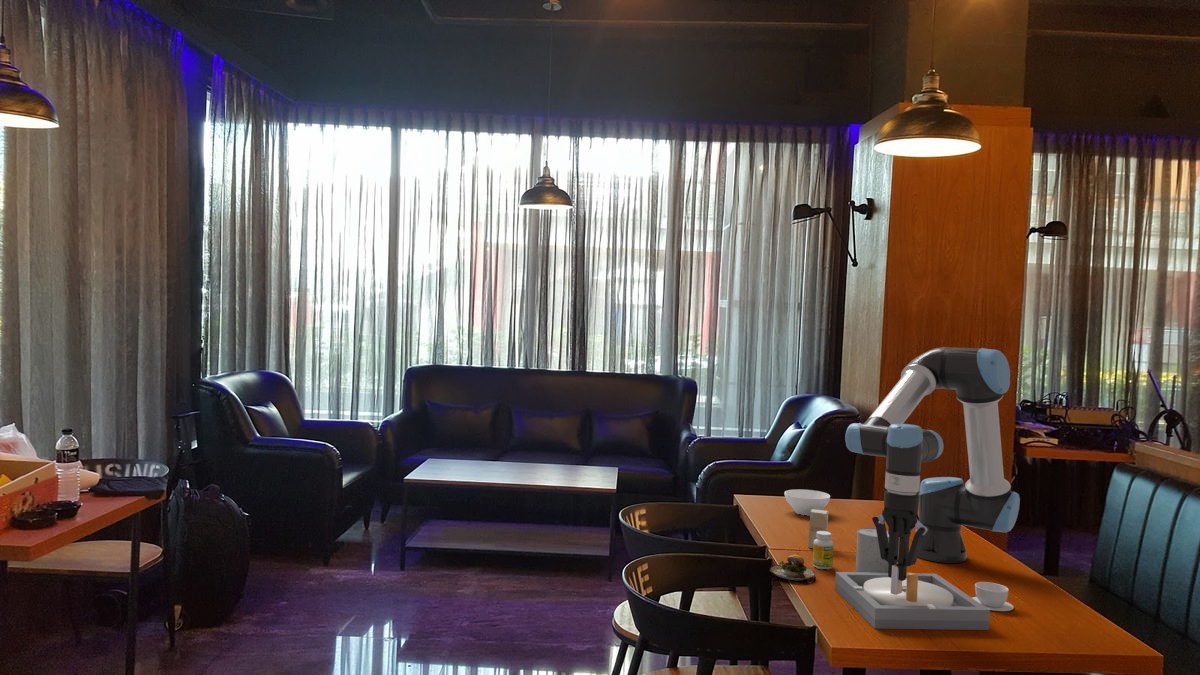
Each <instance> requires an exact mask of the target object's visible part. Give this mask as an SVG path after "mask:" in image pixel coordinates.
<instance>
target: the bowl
mask: <svg viewBox="0 0 1200 675" xmlns="http://www.w3.org/2000/svg"><path fill="white" fill-rule="evenodd" d="M783 494H784V498H785V500H786V502H787V503H788V505H790V506H791V508H792V509H793V510H794V512H795V513H796V514H797V515H799V514H801V515H800V516H804V515H807V517H810V512H811V510H812V509H816V510H824V508H825V507H826V506H827V505H828V504H829V502H830V499H831V495H830V494H829V493H827V492H824V491H820V490H813V489H800V488H799V489H788V490H785V491H784V493H783Z"/></svg>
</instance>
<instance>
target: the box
mask: <svg viewBox="0 0 1200 675" xmlns="http://www.w3.org/2000/svg"><path fill="white" fill-rule="evenodd" d="M828 526H829V510H824V509H822V510H816V509H812V510H811V512H810V516H809V526H808V527H809V528H808V546H807V547H808V548H810V549H813V545H814V540H815V539H817V537H816V532H818V531H826V532H828V529H829V528H828Z"/></svg>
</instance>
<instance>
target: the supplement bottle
mask: <svg viewBox="0 0 1200 675" xmlns="http://www.w3.org/2000/svg"><path fill="white" fill-rule="evenodd" d="M816 537H817V539H815V540H814V545H813V548H812V549H813V552H812V553H813V554H812V565H813V567H814V568H815V567H816V569H819V570H823V569H827V570H831V569H833V566H834V564H833V563H834V542H833V540H831V539H832V533H831V532H829V531H827V532H826V531H818V532H816Z"/></svg>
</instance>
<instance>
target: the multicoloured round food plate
mask: <svg viewBox="0 0 1200 675" xmlns="http://www.w3.org/2000/svg"><path fill="white" fill-rule="evenodd" d="M799 550H801V549H800V547H799ZM769 572H770V573H771V574H772V573H773V574H774V575H775V576H777V577H778V578H781V579H784V580H785V579H786V580H792V581H806V580H807V581H806V582H807V584H811V583H814V580H815V579H816V572H815V571H814V570H812V569H810V568H808V567H807V566H805V560H804V558H803V556H801V555H799V554H792V555H789V556H788V557H787V562H784V561H783V560H781V561H779V563H778V564H776V565H774V566H771V567H770V568H769ZM816 580H817V579H816ZM810 582H811V583H810Z"/></svg>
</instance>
